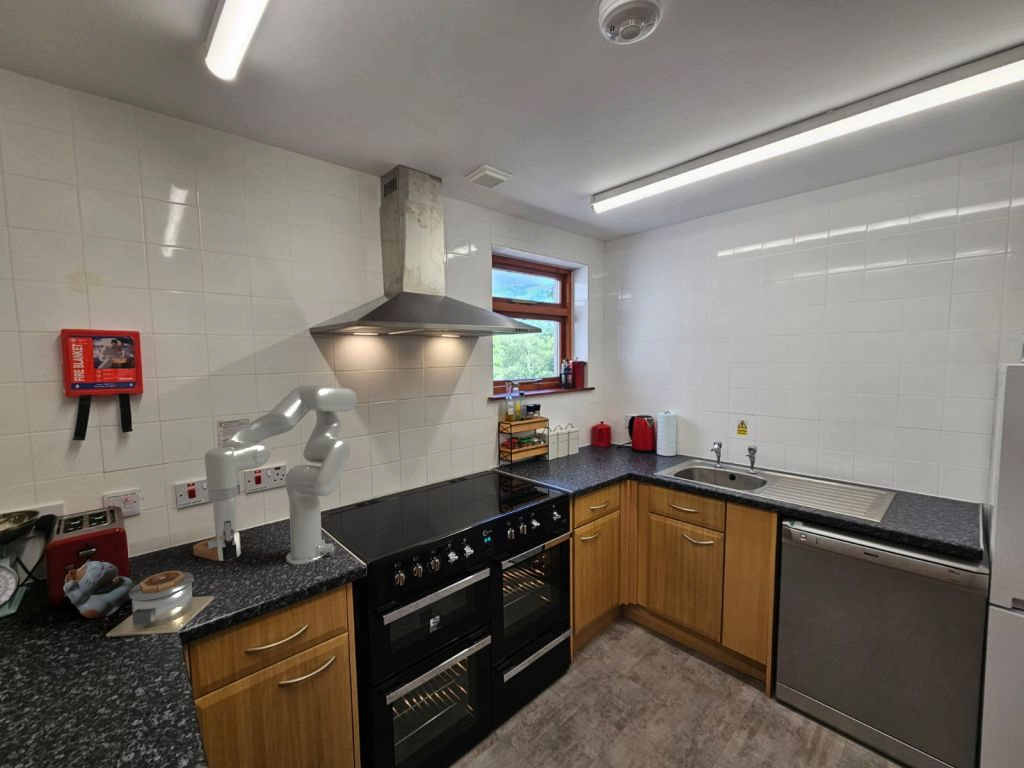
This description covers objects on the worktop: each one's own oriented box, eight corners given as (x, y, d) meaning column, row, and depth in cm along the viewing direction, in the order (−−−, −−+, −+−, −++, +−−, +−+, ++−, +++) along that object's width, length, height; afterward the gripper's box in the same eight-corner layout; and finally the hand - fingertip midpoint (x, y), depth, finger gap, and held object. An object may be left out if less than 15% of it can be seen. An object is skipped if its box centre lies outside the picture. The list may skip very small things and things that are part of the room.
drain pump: (239, 549, 124) (238, 527, 123) (241, 556, 119) (239, 533, 119) (209, 557, 119) (207, 534, 119) (209, 565, 115) (207, 540, 114)
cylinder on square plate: (213, 599, 119) (212, 563, 119) (177, 634, 104) (175, 592, 104) (152, 603, 118) (150, 566, 117) (106, 638, 103) (103, 596, 102)
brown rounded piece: (246, 553, 149) (245, 534, 148) (222, 563, 141) (221, 543, 141) (212, 545, 156) (211, 526, 155) (188, 554, 148) (187, 535, 148)
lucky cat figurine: (100, 624, 108) (91, 571, 107) (50, 629, 108) (41, 576, 107) (147, 591, 123) (140, 545, 122) (104, 595, 123) (96, 549, 122)
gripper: (207, 487, 123) (213, 547, 125) (208, 504, 109) (214, 571, 111) (238, 482, 127) (243, 540, 129) (242, 497, 114) (247, 562, 115)
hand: (229, 554), depth 120 cm, fingers closed on drain pump, 5 cm apart
